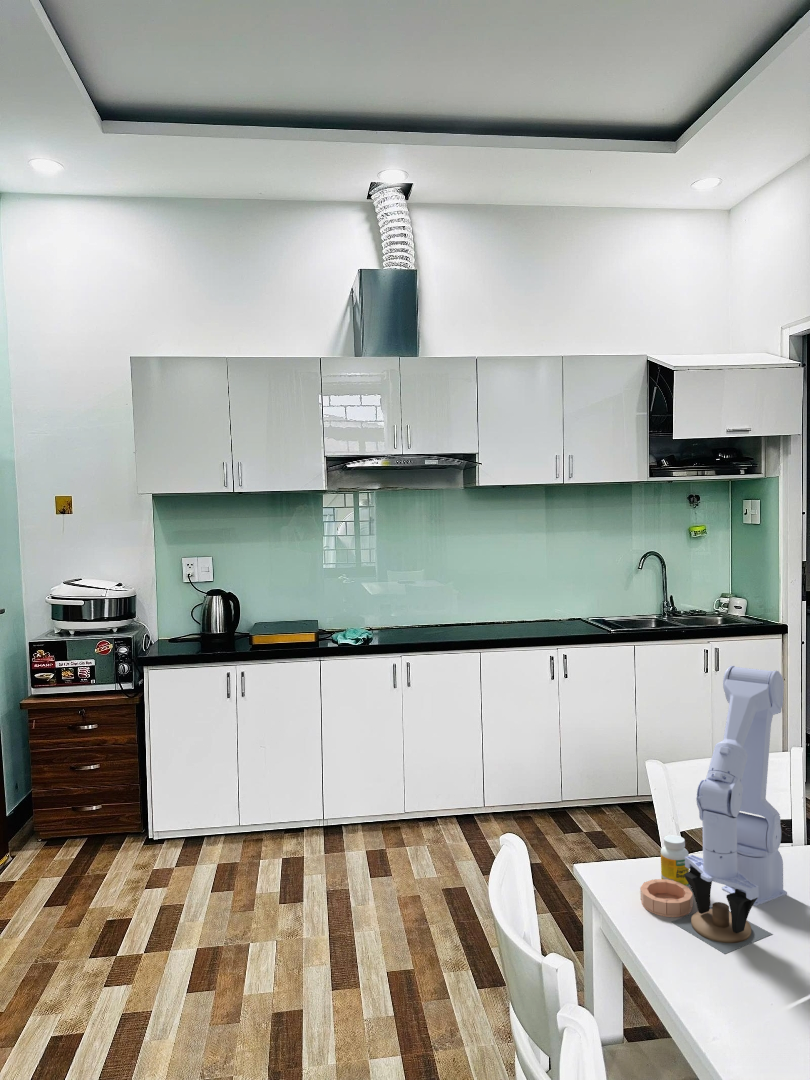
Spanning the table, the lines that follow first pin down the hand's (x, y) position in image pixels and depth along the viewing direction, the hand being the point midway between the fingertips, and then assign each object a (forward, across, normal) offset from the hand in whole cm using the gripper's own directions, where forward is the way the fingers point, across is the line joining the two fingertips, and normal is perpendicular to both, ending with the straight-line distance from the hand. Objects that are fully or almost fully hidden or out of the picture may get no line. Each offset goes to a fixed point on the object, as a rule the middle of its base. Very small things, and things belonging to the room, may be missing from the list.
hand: (720, 921), depth 142 cm
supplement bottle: (+2, -16, +6) cm, 17 cm away
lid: (+1, 0, 0) cm, 1 cm away
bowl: (+2, -11, -2) cm, 11 cm away
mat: (+2, 0, 0) cm, 2 cm away
